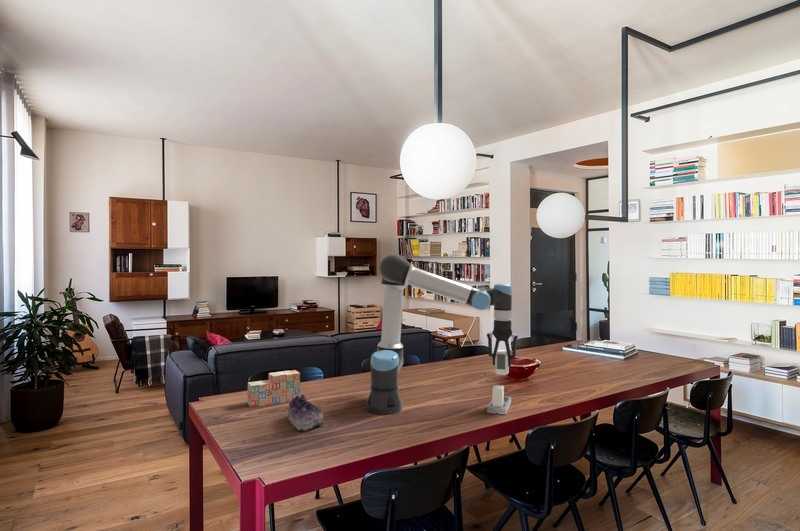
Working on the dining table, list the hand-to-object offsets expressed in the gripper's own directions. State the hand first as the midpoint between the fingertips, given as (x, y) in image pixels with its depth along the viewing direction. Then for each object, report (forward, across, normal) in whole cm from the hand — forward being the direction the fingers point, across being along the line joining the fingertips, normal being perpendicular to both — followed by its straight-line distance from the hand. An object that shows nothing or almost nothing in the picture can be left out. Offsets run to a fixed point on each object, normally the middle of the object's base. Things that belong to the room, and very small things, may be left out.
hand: (501, 372), depth 205 cm
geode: (+14, +68, +52) cm, 87 cm away
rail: (+14, 0, +4) cm, 14 cm away
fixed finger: (+14, 0, +8) cm, 16 cm away
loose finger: (0, 0, 0) cm, 0 cm away
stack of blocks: (+14, +93, +35) cm, 100 cm away
